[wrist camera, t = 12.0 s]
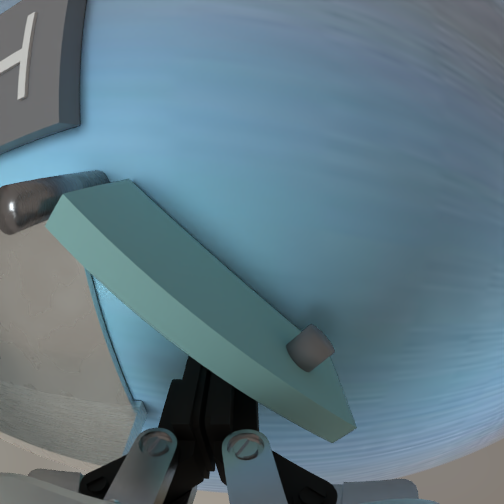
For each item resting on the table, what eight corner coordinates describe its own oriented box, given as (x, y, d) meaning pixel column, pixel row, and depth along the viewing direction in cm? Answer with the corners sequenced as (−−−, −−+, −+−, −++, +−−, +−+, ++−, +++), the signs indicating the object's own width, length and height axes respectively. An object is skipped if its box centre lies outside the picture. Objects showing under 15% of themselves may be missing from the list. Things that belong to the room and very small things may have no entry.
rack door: (146, 156, 9) (85, 158, 5) (347, 339, 12) (381, 410, 8) (112, 200, 10) (44, 226, 6) (311, 368, 12) (332, 443, 8)
